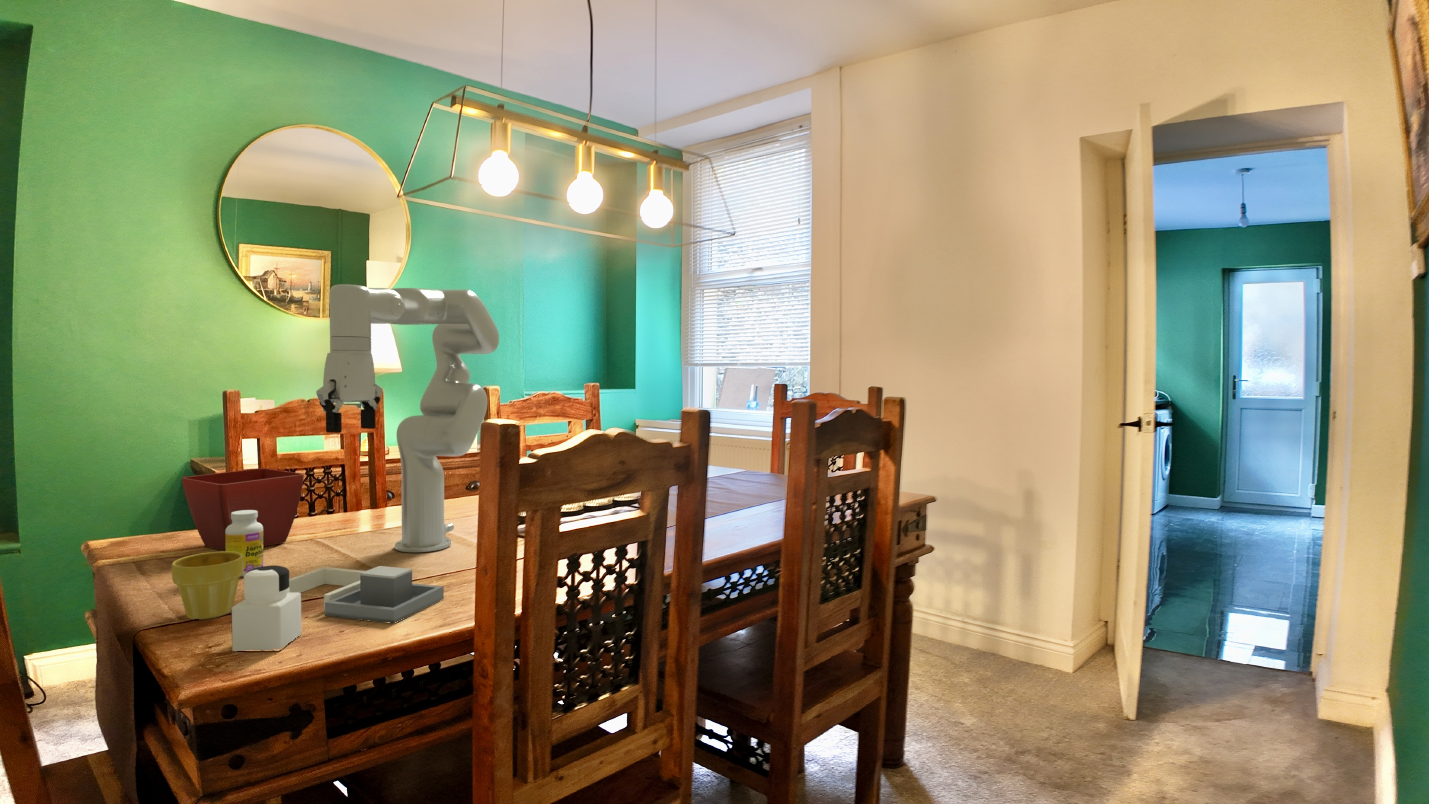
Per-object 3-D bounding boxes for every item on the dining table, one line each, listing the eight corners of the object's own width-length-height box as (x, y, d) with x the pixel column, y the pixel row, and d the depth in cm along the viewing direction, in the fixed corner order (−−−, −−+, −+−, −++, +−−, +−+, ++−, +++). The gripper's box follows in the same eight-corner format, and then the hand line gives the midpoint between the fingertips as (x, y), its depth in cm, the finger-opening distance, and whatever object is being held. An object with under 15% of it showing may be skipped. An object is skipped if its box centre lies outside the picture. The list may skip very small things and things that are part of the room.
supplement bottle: (245, 578, 150) (244, 516, 149) (217, 576, 151) (216, 514, 151) (271, 569, 156) (270, 509, 156) (244, 567, 158) (243, 508, 157)
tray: (379, 592, 142) (379, 580, 142) (443, 599, 139) (443, 586, 139) (325, 616, 129) (324, 602, 129) (394, 624, 126) (394, 610, 125)
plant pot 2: (180, 628, 122) (179, 570, 121) (166, 613, 129) (165, 558, 128) (252, 613, 130) (251, 558, 129) (235, 600, 137) (234, 547, 136)
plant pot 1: (180, 547, 174) (179, 476, 173) (265, 532, 190) (264, 467, 189) (221, 559, 164) (220, 484, 163) (307, 542, 180) (306, 474, 179)
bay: (324, 581, 149) (323, 566, 149) (385, 587, 145) (385, 572, 145) (263, 604, 135) (262, 587, 134) (329, 611, 131) (329, 595, 131)
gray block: (379, 597, 137) (379, 565, 137) (412, 601, 136) (412, 569, 135) (360, 606, 133) (360, 573, 132) (394, 609, 131) (393, 576, 130)
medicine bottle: (256, 635, 119) (255, 562, 119) (302, 635, 120) (301, 562, 119) (231, 653, 112) (229, 575, 112) (280, 652, 113) (279, 574, 112)
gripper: (364, 347, 159) (365, 426, 160) (301, 345, 142) (302, 433, 143) (395, 347, 157) (395, 427, 158) (334, 345, 140) (335, 435, 141)
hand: (351, 430), depth 151 cm, fingers open, 9 cm apart
